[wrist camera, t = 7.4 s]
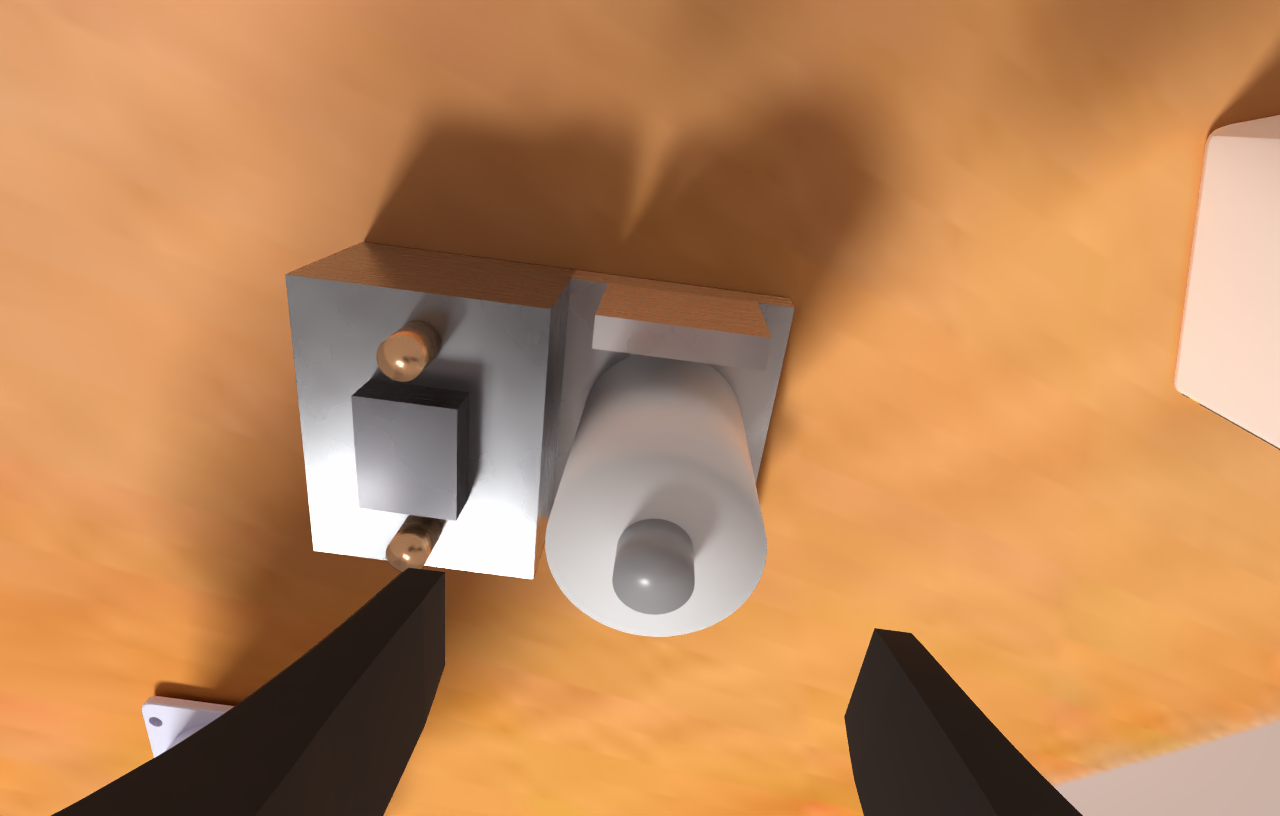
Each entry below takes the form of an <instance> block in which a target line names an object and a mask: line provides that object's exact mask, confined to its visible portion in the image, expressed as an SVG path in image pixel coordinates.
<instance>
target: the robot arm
mask: <svg viewBox="0 0 1280 816" xmlns="http://www.w3.org/2000/svg"><path fill="white" fill-rule="evenodd" d="M444 666H445V572H438V571H431V570H423V569H415V568H407V569H406V570H404V571H403V572H402V573H401V574H399V575H398V576H397V577H396V578H395V579H394V580H392V581H391V582H390V583H389V584H388V585H387V586H386V587H384V588H383V589H382V590H381V591H380V592H379V593H377V594H376V595H375V596H374V597H373V598H372V599H371V600H369V601H368V602H367V603H366V604H365V605H364V606H363V607H361V608H360V609H359V610H358V611H357V612H355V613H354V614H353V615H352V616H351V617H350V618H348V619H347V620H346V621H345V622H344V623H343V624H341V625H340V626H339V627H338V628H336V629H335V630H334V631H333V632H331V633H330V634H329V635H328V636H327V637H325V638H324V639H323V640H322V641H320V642H319V643H318V644H317V645H316V646H314V647H313V648H312V649H311V650H309V651H308V652H307V653H306V654H304V655H303V656H302V657H301V658H299V659H298V660H297V661H295V662H294V663H293V664H291V665H290V666H289V667H287V668H286V669H285V670H283V671H282V672H281V673H279V674H278V675H277V676H275V677H274V678H273V679H271V680H270V681H269V682H267V683H266V684H265V685H263V686H262V687H261V688H259V689H258V690H257V691H255V692H254V693H253V694H251V695H250V696H248V697H247V698H246V699H244V700H243V701H241V702H240V703H238V704H237V705H236V706H230V705H222V704H215V703H207V702H199V701H192V700H184V699H176V698H169V697H161V696H153V697H150V698H149V699H148V700H147V701H146V702H145V703H144V704H143V706H142V713H143V717H144V721H145V725H146V728H147V732H148V736H149V740H150V743H151V747H152V751H153V755H154V758H153V759H152V760H150V761H148V762H146V763H145V764H143V765H141V766H139V767H138V768H136V769H134V770H132V771H131V772H129V773H127V774H125V775H124V776H122V777H120V778H118V779H117V780H115V781H113V782H111V783H110V784H108V785H106V786H104V787H103V788H101V789H99V790H97V791H96V792H94V793H92V794H90V795H89V796H87V797H85V798H83V799H81V800H80V801H78V802H76V803H74V804H72V805H70V806H68V807H66V808H65V809H63V810H61V811H59V812H57V813H55V814H53V815H51V816H383V815H384V813H385V811H386V809H387V806H388V804H389V802H390V800H391V798H392V796H393V793H394V791H395V789H396V787H397V785H398V783H399V781H400V778H401V776H402V774H403V772H404V770H405V768H406V765H407V763H408V761H409V759H410V757H411V754H412V752H413V750H414V748H415V746H416V744H417V741H418V739H419V737H420V735H421V733H422V730H423V728H424V726H425V723H426V720H427V718H428V715H429V712H430V709H431V706H432V703H433V700H434V697H435V694H436V691H437V688H438V685H439V682H440V679H441V675H442V672H443V669H444ZM845 724H846V731H847V738H848V745H849V752H850V757H851V763H852V769H853V775H854V780H855V784H856V788H857V792H858V795H859V799H860V803H861V806H862V810H863V813H864V816H1083V815H1082V814H1080V813H1079V812H1078V811H1077V810H1076V809H1075V808H1074V807H1073V806H1072V805H1071V804H1070V803H1069V802H1068V801H1067V800H1066V799H1065V798H1064V797H1063V796H1062V795H1061V794H1060V793H1059V792H1058V791H1057V790H1056V789H1055V788H1054V787H1053V786H1052V785H1051V784H1050V783H1049V782H1048V781H1047V780H1046V779H1045V778H1044V777H1043V776H1042V775H1041V774H1040V773H1039V772H1038V771H1037V770H1036V769H1035V768H1034V767H1033V766H1032V765H1031V764H1030V763H1029V762H1028V761H1027V760H1026V759H1025V757H1024V756H1023V755H1022V754H1021V753H1020V752H1019V751H1018V750H1017V749H1016V748H1015V747H1014V746H1013V745H1012V744H1011V743H1010V742H1009V741H1008V740H1007V738H1006V737H1005V736H1004V735H1003V734H1002V733H1001V732H1000V731H999V730H998V729H997V728H996V727H995V726H994V724H993V723H992V722H991V721H990V720H989V719H988V718H987V717H986V716H985V715H984V713H983V712H982V711H981V710H980V709H979V708H978V707H977V706H976V705H975V704H974V702H973V701H972V700H971V699H970V698H969V697H968V696H967V695H966V693H965V692H964V691H963V690H962V689H961V688H960V687H959V686H958V684H957V683H956V682H955V681H954V680H953V679H952V678H951V677H950V675H949V674H948V673H947V672H946V671H945V670H944V669H943V667H942V666H941V665H940V664H939V663H938V662H937V661H936V660H935V658H934V657H933V656H932V655H931V654H930V653H929V652H928V651H927V650H926V648H925V647H924V646H923V645H922V644H921V643H920V642H919V641H918V640H917V639H916V638H915V637H914V636H913V634H912V633H906V632H899V631H891V630H883V629H876V628H875V629H874V632H873V635H872V638H871V641H870V644H869V647H868V649H867V652H866V655H865V658H864V661H863V664H862V667H861V670H860V673H859V676H858V679H857V682H856V684H855V687H854V690H853V693H852V696H851V699H850V702H849V705H848V708H847V711H846V714H845Z"/></svg>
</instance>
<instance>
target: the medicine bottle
mask: <svg viewBox="0 0 1280 816" xmlns="http://www.w3.org/2000/svg"><path fill="white" fill-rule="evenodd" d="M1174 386H1175V388H1176V389H1177V391H1178V392H1180V393H1181V394H1182V395H1184V396H1186V397H1188V398H1189V399H1191V400H1193V401H1195V402H1196V403H1198V404H1200V405H1202V406H1203V407H1205V408H1207V409H1209V410H1211V411H1212V412H1214V413H1216V414H1218V415H1219V416H1221V417H1223V418H1225V419H1226V420H1228V421H1230V422H1232V423H1233V424H1235V425H1237V426H1239V427H1241V428H1242V429H1244V430H1246V431H1248V432H1249V433H1251V434H1253V435H1255V436H1256V437H1258V438H1260V439H1262V440H1263V441H1265V442H1267V443H1269V444H1271V445H1272V446H1274V447H1276V448H1278V449H1279V450H1280V115H1277V116H1272V117H1266V118H1261V119H1256V120H1251V121H1245V122H1240V123H1235V124H1230V125H1226V126H1223V127H1220V128H1218V129H1216V130H1214V131H1213V132H1212V133H1211V134H1210V135H1209V136H1208V139H1207V141H1206V145H1205V152H1204V160H1203V167H1202V175H1201V182H1200V190H1199V197H1198V205H1197V212H1196V220H1195V227H1194V235H1193V242H1192V250H1191V257H1190V265H1189V272H1188V280H1187V287H1186V295H1185V302H1184V310H1183V317H1182V325H1181V332H1180V340H1179V347H1178V355H1177V362H1176V370H1175V377H1174Z"/></svg>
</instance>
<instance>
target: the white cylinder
mask: <svg viewBox="0 0 1280 816" xmlns="http://www.w3.org/2000/svg"><path fill="white" fill-rule="evenodd" d="M545 551H546V556H547V561H548V565H549V568H550V570H551V573H552V575H553V577H554V579H555V581H556V583H557V585H558V586H559V588H560V589H561V590H562V592H563V593H564V595H565V596H566V597H567V598H568V599H569V600H570V601H571V602H572V603H573V604H574V605H575V606H576V607H577V608H579V609H580V610H581V611H582V612H583V613H585V614H586V615H588V616H589V617H591V618H592V619H594V620H596V621H598V622H600V623H602V624H604V625H606V626H608V627H611V628H614V629H616V630H619V631H623V632H627V633H630V634H636V635H642V636H655V637H663V636H676V635H683V634H688V633H692V632H696V631H699V630H702V629H704V628H707V627H710V626H712V625H714V624H716V623H718V622H720V621H722V620H723V619H725V618H726V617H728V616H729V615H731V614H732V613H733V612H735V611H736V610H737V609H738V608H739V607H740V606H741V605H742V604H743V603H744V602H745V601H746V600H747V599H748V598H749V597H750V595H751V594H752V592H753V591H754V589H755V588H756V586H757V584H758V582H759V580H760V578H761V576H762V573H763V570H764V566H765V563H766V555H767V539H766V533H765V528H764V523H763V518H762V513H761V508H760V504H759V499H758V494H757V489H756V484H755V479H754V474H753V469H752V464H751V460H750V455H749V450H748V445H747V440H746V435H745V430H744V425H743V420H742V415H741V411H740V406H739V403H738V400H737V397H736V395H735V393H734V391H733V390H732V388H731V386H730V385H729V384H728V382H727V381H726V380H725V378H724V377H723V376H722V375H721V374H720V373H719V372H718V371H716V370H715V369H714V368H713V367H711V366H710V365H708V364H706V363H699V362H691V361H684V360H676V359H668V358H661V357H653V356H645V355H638V354H636V355H633V356H630V357H628V358H626V359H624V360H622V361H620V362H618V363H616V364H615V365H613V366H612V367H610V368H609V369H608V370H607V371H606V372H605V373H604V374H603V375H602V376H601V377H600V378H599V379H598V380H597V381H596V383H595V384H594V386H593V388H592V389H591V391H590V393H589V395H588V398H587V400H586V403H585V406H584V410H583V413H582V416H581V419H580V422H579V425H578V428H577V432H576V435H575V438H574V441H573V444H572V447H571V450H570V454H569V457H568V460H567V463H566V466H565V469H564V473H563V476H562V479H561V482H560V485H559V488H558V491H557V495H556V498H555V501H554V504H553V507H552V510H551V513H550V517H549V520H548V524H547V527H546V535H545Z"/></svg>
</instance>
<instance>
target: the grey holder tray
mask: <svg viewBox="0 0 1280 816" xmlns="http://www.w3.org/2000/svg"><path fill="white" fill-rule="evenodd" d="M285 275H286V285H287V295H288V305H289V314H290V324H291V334H292V344H293V354H294V363H295V373H296V383H297V393H298V402H299V412H300V422H301V432H302V442H303V451H304V461H305V471H306V481H307V490H308V500H309V510H310V520H311V530H312V539H313V549H314V551H319V552H327V553H334V554H342V555H349V556H357V557H365V558H372V559H380V560H388V562H389V563H390V564H391V565H392V566H393V567H394V568H395V569H397V570H399V571H402V572H403V571H404V570H406V569H407V568H415V569H422V567H423V566H424V565H426V566H433V567H441V568H449V569H456V570H464V571H472V572H479V573H487V574H494V575H502V576H510V577H517V578H525V579H533V578H534V575H535V572H536V569H537V565H538V562H539V559H540V556H541V553H542V549H543V546H544V543H545V535H546V527H547V524H548V520H549V517H550V513H551V510H552V507H553V504H554V501H555V498H556V495H557V491H558V488H559V485H560V482H561V479H562V476H563V473H564V469H565V466H566V463H567V460H568V457H569V454H570V450H571V447H572V444H573V441H574V438H575V435H576V432H577V428H578V425H579V422H580V419H581V416H582V413H583V410H584V406H585V403H586V400H587V398H588V395H589V393H590V391H591V389H592V388H593V386H594V384H595V383H596V381H597V380H598V379H599V378H600V377H601V376H602V375H603V374H604V373H605V372H606V371H607V370H608V369H609V368H610V367H612V366H613V365H615V364H616V363H618V362H620V361H622V360H624V359H626V358H628V357H630V356H633V355H636V354H638V355H645V356H653V357H661V358H668V359H676V360H684V361H691V362H699V363H706V364H708V365H710V366H711V367H713V368H714V369H715V370H716V371H718V372H719V373H720V374H721V375H722V376H723V377H724V378H725V380H726V381H727V382H728V384H729V385H730V386H731V388H732V390H733V391H734V393H735V395H736V397H737V400H738V403H739V406H740V411H741V415H742V420H743V425H744V430H745V435H746V440H747V445H748V450H749V455H750V460H751V464H752V469H753V474H754V479H755V484H756V481H757V477H758V472H759V468H760V463H761V459H762V454H763V450H764V445H765V441H766V436H767V432H768V427H769V423H770V418H771V414H772V409H773V405H774V400H775V396H776V391H777V387H778V382H779V378H780V373H781V369H782V364H783V360H784V355H785V351H786V346H787V342H788V337H789V333H790V328H791V324H792V319H793V315H794V310H795V307H794V305H793V303H792V302H791V300H790V298H786V297H778V296H771V295H763V294H755V293H748V292H740V291H732V290H725V289H717V288H710V287H702V286H694V285H687V284H679V283H671V282H664V281H656V280H649V279H641V278H633V277H626V276H618V275H610V274H603V273H595V272H588V271H580V270H572V269H565V268H557V267H549V266H542V265H534V264H526V263H519V262H511V261H504V260H496V259H488V258H481V257H473V256H465V255H458V254H450V253H443V252H435V251H427V250H420V249H412V248H404V247H397V246H389V245H382V244H374V243H366V242H362V243H359V244H357V245H354V246H352V247H350V248H347V249H345V250H342V251H340V252H338V253H335V254H333V255H330V256H328V257H326V258H323V259H321V260H318V261H316V262H314V263H311V264H309V265H307V266H304V267H302V268H299V269H297V270H295V271H292V272H290V273H287V274H285Z"/></svg>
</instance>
